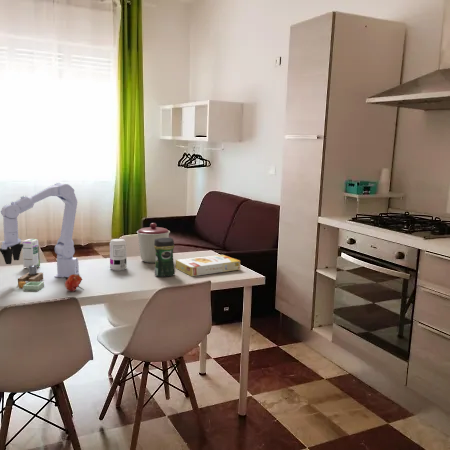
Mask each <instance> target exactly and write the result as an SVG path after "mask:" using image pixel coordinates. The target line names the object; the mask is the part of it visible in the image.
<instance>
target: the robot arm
mask: <svg viewBox="0 0 450 450" xmlns="http://www.w3.org/2000/svg"><path fill="white" fill-rule="evenodd" d="M49 197H57V198H59V199H60V200H61V201H62V202H63V204H64V209H63V210H64V211H63V217H62V224H61V230H60V236H59V238H58V239H57V242H56V244H55V246H54V253H55V254H56V267H57V268H56V270H57V274H55V275H54V278H64V277H69V276H70V275H73V274H76V275H79V274H80V272H79V258H78V257H74V255H75V252H76V250H75V247H74V246H75V243H74V239H73V233H74V227H75V220H76V214H77V208H78V207H77V206H78V199H77V196H76V194H75V189H74V188H73V187H72V185H70V184H68V183H60V182H56V183H54V184H51V185H50V186H47V187H46V188H44V189H42V190H40V191H39V192H37V193H35V194H33V195H31V196H28V195H25V196H24V195H23V196H20V198H19V199H17V200H15V201H10V204H4V205H3V206H2V208H1V210H0V214H1V216H2V217H3V220H2V221H3V237H4V238H3V239H4V240H2V242H1V247H0V253H1V255H2V257H3V260H4V262H5V265H11V264H12V261H20V258H21V253H22V251H23V250H22V247H23V244H22V239H21V238H19V226H18V225H19V224H18V218H19V217H18V216H19V215H20V214H22V213H24V212H26V211H28V210H30V209H32V208H33V207H34V205H35V204H36V203H37V202H40V201H43V200H45V199H46V198H49ZM12 258H13V259H12Z"/></svg>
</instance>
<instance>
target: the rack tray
mask: <svg viewBox="0 0 450 450" xmlns="http://www.w3.org/2000/svg"><path fill="white" fill-rule="evenodd" d="M42 288H45V282H44V281H40V282H28V283H27V284H25V285H24V286H23V288H22V289H23V291H29V292H30V291H31V292H32V291H34V292H35V291H36V292H38V291H40V290H42Z"/></svg>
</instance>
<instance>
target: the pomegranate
mask: <svg viewBox="0 0 450 450" xmlns="http://www.w3.org/2000/svg"><path fill="white" fill-rule="evenodd" d="M63 279H65V282H64V287H65V289H66V290H67V291H68V292H70V293H71V292H72V293H73V292H76V290H77V288H79V289H81V290H83V291H85V289H84V288H82V287H80V284H81V283H82V280H83V278H82V277H81V276H80V275H79V274H78V275H76V274H73V275H70V276H69V277H63Z"/></svg>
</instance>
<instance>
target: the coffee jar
mask: <svg viewBox="0 0 450 450" xmlns="http://www.w3.org/2000/svg"><path fill="white" fill-rule="evenodd" d="M154 242H155V243H154V248H155V251H156V259H155V263H154V272H153V273H154V276H155V277H160V278H164V277H165V278H167V277H171V276H172V277H173V276H174V275H175V274H176V273H175V272H176V271H175V261H174V249H175V240H174V239H173V238H172V237H168V238H156V239H155V241H154Z"/></svg>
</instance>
